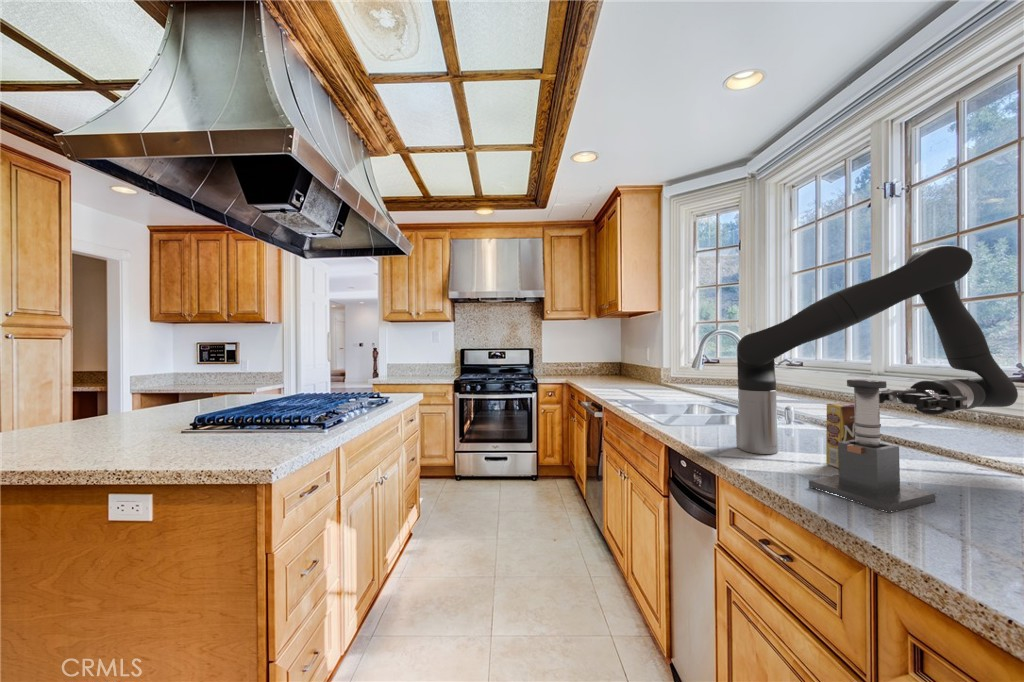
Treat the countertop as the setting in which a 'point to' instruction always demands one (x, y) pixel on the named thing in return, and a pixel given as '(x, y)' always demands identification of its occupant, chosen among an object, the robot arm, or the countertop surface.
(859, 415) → the steel column
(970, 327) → the robot arm
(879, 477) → the stand base
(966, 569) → the countertop surface
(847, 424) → the candy box
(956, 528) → the countertop surface
